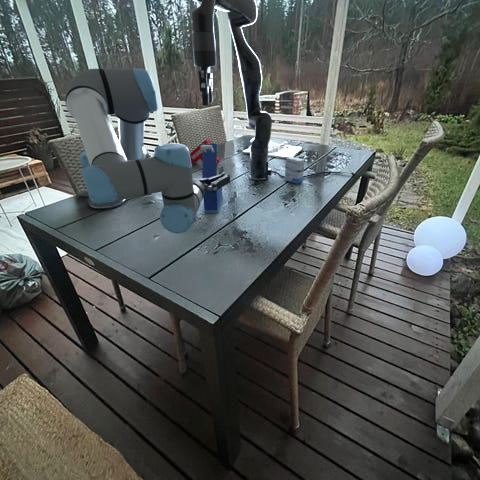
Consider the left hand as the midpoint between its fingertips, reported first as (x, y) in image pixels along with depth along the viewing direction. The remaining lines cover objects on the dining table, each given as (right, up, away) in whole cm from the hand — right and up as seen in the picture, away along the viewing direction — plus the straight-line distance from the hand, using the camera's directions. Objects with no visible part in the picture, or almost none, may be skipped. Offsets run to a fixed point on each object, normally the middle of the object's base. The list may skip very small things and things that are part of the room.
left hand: (202, 170), depth 93 cm
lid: (+1, +5, +14) cm, 15 cm away
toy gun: (-10, +23, +77) cm, 81 cm away
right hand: (+1, +26, +6) cm, 27 cm away
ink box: (+41, +7, +51) cm, 66 cm away
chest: (+1, -8, +27) cm, 29 cm away
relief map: (+37, +40, +101) cm, 115 cm away
